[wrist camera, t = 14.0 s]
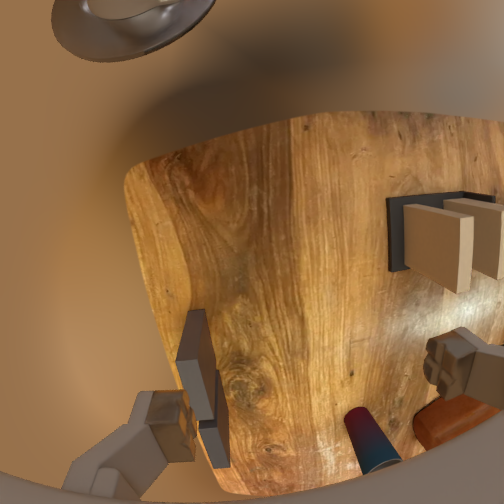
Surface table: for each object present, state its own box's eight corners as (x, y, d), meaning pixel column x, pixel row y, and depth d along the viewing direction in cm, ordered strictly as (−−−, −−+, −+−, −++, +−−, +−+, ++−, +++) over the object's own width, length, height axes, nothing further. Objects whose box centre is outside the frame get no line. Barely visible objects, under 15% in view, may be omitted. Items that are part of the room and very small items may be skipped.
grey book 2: (203, 371, 46) (198, 429, 33) (218, 369, 46) (217, 427, 33) (214, 411, 48) (213, 469, 35) (228, 410, 48) (230, 467, 35)
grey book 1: (188, 311, 43) (175, 361, 30) (204, 308, 43) (197, 359, 31) (200, 363, 45) (194, 421, 33) (216, 361, 45) (214, 419, 33)
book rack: (386, 198, 41) (445, 209, 28) (463, 191, 42) (523, 200, 29) (388, 270, 44) (441, 305, 31) (462, 254, 45) (518, 278, 31)
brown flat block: (402, 205, 41) (460, 218, 28) (415, 203, 41) (474, 216, 28) (404, 264, 43) (456, 294, 30) (416, 262, 43) (469, 290, 30)
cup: (377, 402, 51) (410, 455, 36) (365, 426, 52) (392, 479, 38) (345, 404, 50) (375, 462, 35) (334, 429, 51) (358, 486, 37)
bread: (512, 368, 55) (546, 397, 40) (416, 443, 56) (444, 485, 41) (514, 332, 51) (555, 360, 36) (409, 414, 53) (443, 462, 38)
